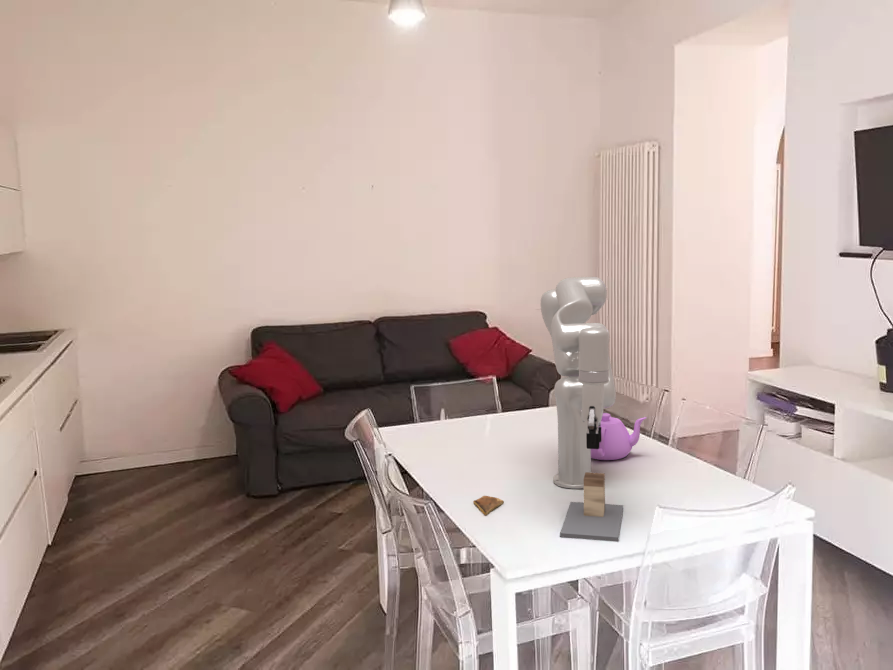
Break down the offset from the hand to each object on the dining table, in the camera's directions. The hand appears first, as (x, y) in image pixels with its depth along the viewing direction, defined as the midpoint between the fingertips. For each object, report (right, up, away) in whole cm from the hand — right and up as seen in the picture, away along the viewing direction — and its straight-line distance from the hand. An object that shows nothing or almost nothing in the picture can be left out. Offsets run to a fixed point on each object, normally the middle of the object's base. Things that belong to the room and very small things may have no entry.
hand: (594, 444), depth 208 cm
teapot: (+16, -11, +54) cm, 58 cm away
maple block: (+1, -18, +3) cm, 18 cm away
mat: (0, -20, -1) cm, 20 cm away
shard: (-26, -19, +12) cm, 35 cm away
